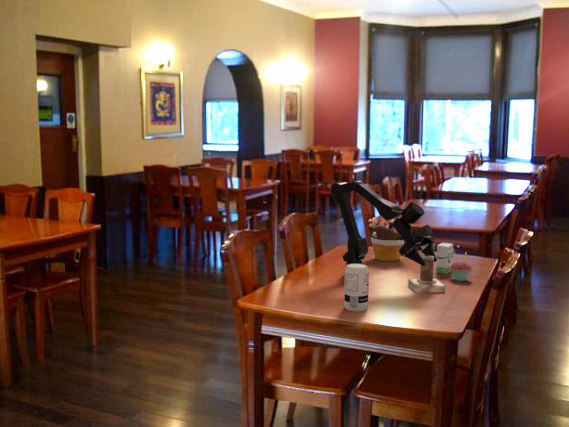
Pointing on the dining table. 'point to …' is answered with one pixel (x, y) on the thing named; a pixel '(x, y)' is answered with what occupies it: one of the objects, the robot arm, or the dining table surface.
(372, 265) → the dining table surface
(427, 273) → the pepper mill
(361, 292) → the supplement can
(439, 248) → the ink box
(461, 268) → the cupcake
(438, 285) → the birch block
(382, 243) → the bucket of meat
